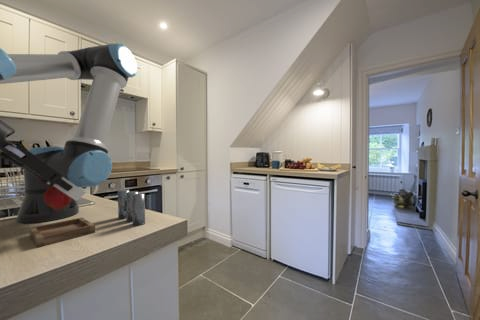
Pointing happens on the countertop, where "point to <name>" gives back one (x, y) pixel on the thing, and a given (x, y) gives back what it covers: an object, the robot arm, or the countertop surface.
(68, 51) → the robot arm
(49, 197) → the onion
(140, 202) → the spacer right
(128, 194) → the spacer mid
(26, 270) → the countertop surface
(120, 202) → the spacer left
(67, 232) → the tray
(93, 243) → the countertop surface
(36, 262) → the countertop surface
